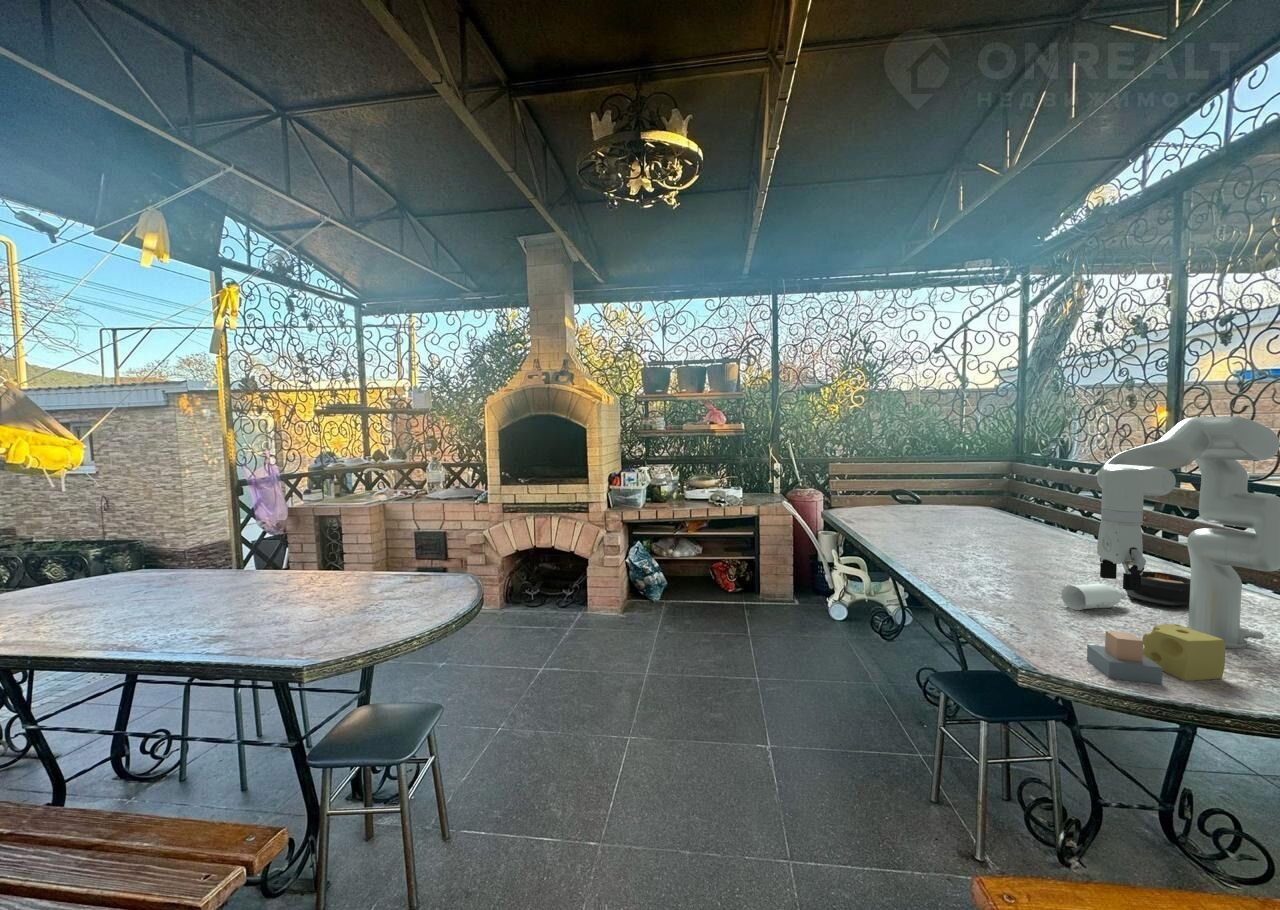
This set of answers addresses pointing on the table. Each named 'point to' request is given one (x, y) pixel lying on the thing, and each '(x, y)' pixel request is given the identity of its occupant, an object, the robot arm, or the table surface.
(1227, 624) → the robot arm
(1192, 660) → the cheese
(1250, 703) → the table surface
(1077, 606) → the white hollow cylinder
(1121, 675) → the pedestal
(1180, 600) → the casserole
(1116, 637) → the cube
